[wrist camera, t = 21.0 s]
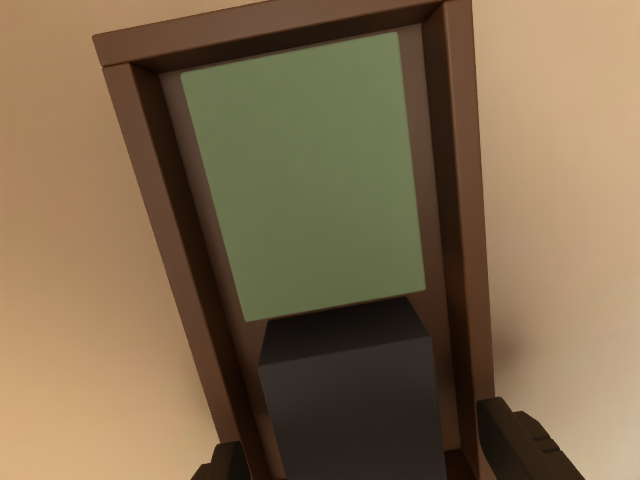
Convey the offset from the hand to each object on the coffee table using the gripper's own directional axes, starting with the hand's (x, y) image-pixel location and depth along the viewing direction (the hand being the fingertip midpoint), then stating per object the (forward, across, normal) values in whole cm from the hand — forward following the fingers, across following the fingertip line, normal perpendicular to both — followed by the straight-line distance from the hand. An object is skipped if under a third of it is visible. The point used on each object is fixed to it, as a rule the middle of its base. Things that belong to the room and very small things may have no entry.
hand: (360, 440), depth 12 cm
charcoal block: (+3, 0, 0) cm, 3 cm away
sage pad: (+3, 0, -8) cm, 9 cm away
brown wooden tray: (+4, 0, -4) cm, 5 cm away
